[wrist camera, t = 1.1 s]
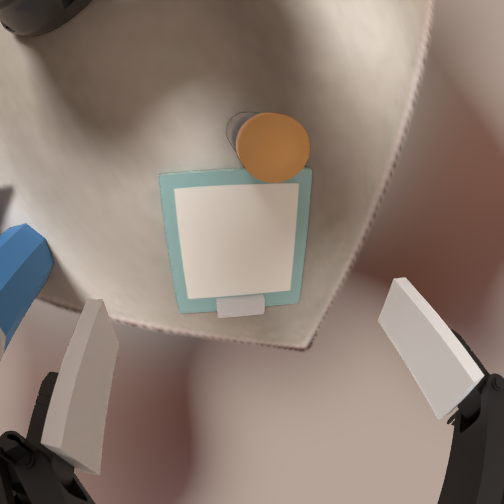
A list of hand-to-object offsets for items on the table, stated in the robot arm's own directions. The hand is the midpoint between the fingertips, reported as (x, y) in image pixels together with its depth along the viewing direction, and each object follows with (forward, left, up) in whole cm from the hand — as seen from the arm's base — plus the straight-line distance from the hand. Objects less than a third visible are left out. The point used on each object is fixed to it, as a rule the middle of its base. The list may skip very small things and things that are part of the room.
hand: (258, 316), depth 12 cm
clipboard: (+7, +1, -20) cm, 21 cm away
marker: (-6, +2, -20) cm, 21 cm away
